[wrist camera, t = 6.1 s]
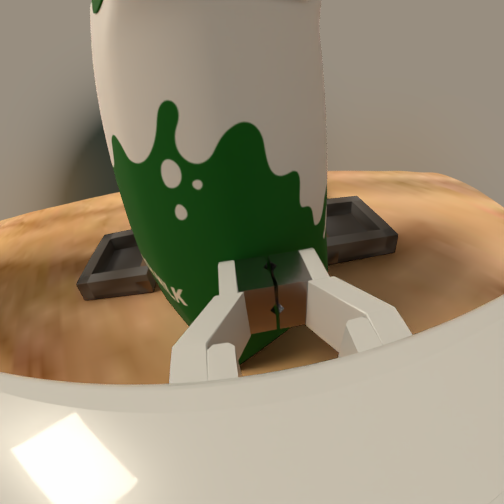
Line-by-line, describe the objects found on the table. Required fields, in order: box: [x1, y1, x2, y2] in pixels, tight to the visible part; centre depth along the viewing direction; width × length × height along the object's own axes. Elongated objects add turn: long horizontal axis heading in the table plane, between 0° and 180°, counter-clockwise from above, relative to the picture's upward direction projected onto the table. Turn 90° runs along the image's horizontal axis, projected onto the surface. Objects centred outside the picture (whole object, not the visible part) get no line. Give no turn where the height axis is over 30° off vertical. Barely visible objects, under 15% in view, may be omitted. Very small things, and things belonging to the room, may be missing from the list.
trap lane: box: [76, 196, 398, 300], centre depth 23 cm, size 23×17×6 cm
